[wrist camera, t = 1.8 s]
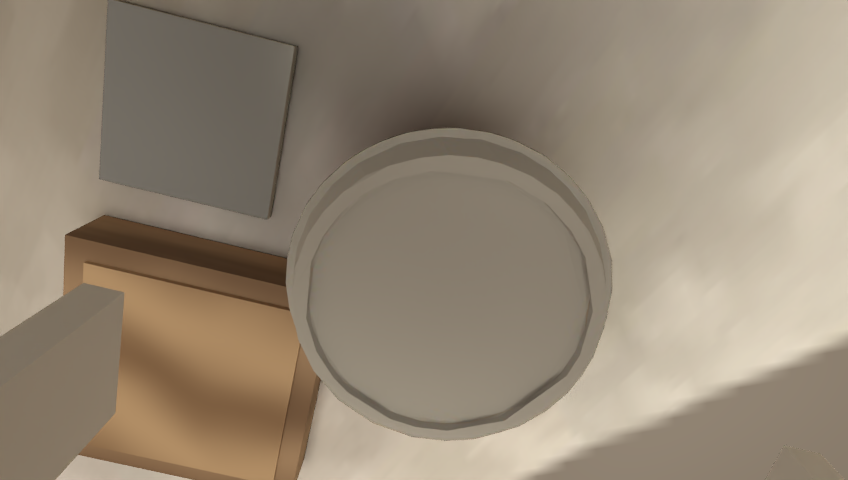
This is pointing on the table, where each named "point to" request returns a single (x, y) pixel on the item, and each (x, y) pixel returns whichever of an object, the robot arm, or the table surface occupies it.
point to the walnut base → (198, 354)
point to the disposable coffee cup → (449, 283)
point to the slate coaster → (193, 109)
